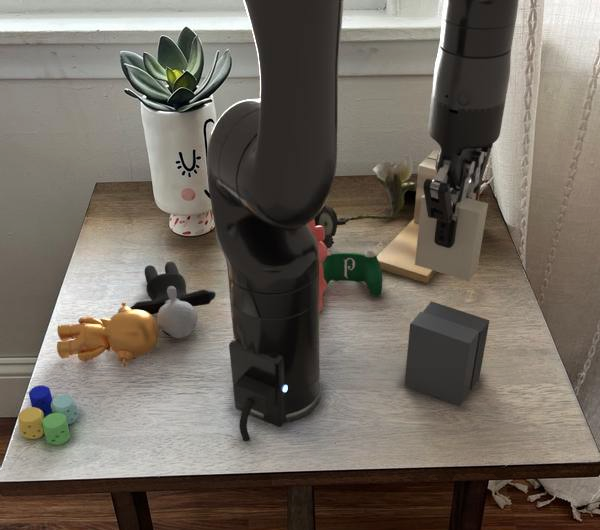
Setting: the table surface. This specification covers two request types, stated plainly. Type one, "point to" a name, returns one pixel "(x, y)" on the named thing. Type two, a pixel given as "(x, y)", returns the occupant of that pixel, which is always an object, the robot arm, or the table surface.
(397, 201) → the artificial flower
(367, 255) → the gaming controller
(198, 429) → the table surface
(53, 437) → the multicoloured cylinder cluster
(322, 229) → the figurine
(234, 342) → the robot arm
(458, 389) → the grey books
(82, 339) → the figurine
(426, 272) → the book shelf
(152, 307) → the figurine
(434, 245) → the cream book
